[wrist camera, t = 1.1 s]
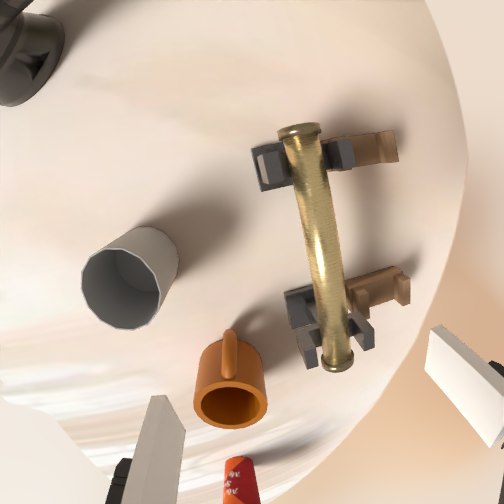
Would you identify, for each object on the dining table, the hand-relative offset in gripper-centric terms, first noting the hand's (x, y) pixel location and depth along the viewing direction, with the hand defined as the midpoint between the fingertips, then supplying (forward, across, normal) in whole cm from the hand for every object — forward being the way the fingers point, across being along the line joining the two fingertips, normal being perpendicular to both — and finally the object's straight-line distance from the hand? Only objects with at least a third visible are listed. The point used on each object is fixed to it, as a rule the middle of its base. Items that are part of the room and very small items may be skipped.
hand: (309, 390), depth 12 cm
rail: (+16, +5, +1) cm, 16 cm away
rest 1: (+24, +13, +10) cm, 29 cm away
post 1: (+24, +5, +10) cm, 26 cm away
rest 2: (+24, +14, -8) cm, 29 cm away
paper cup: (+24, -13, -42) cm, 51 cm away
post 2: (+24, +5, -8) cm, 26 cm away
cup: (+24, -14, +3) cm, 28 cm away
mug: (+24, -7, -13) cm, 28 cm away
